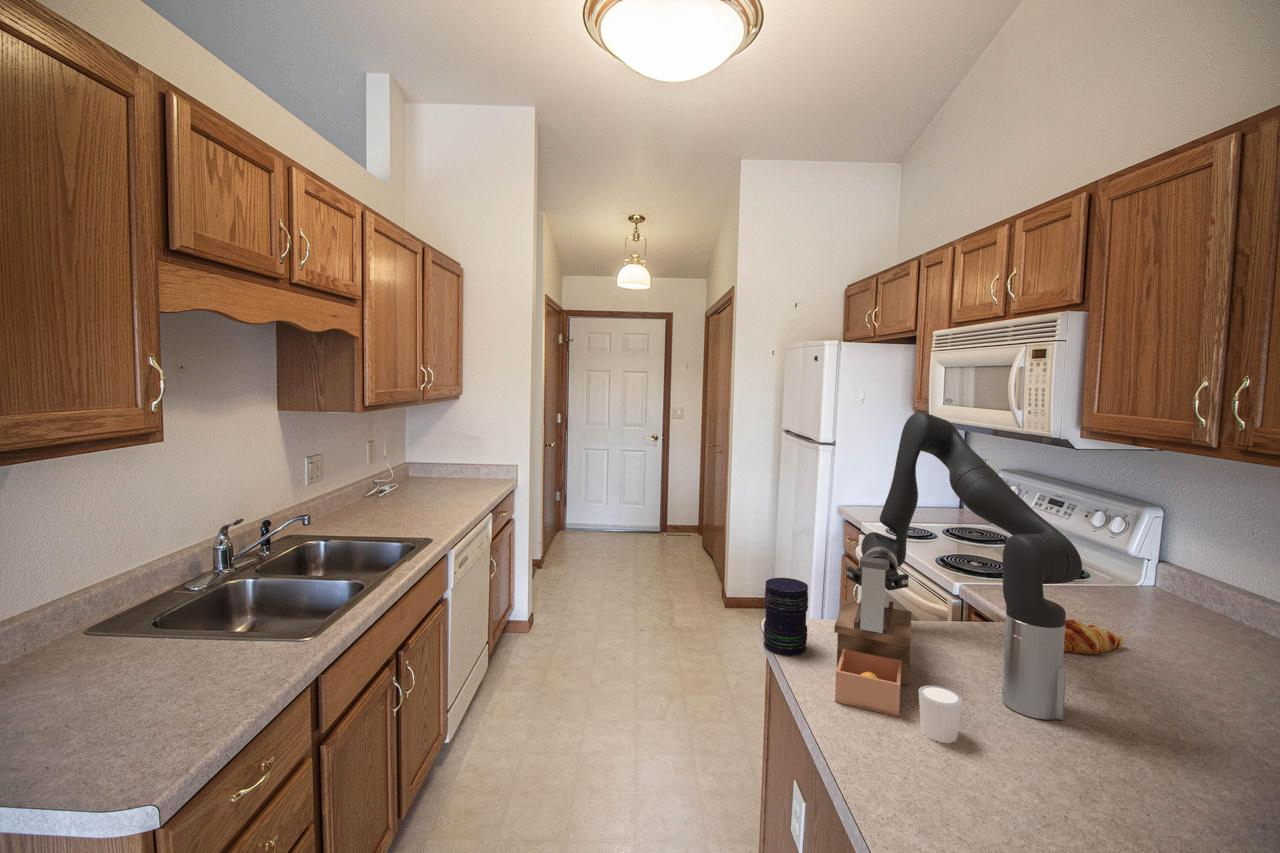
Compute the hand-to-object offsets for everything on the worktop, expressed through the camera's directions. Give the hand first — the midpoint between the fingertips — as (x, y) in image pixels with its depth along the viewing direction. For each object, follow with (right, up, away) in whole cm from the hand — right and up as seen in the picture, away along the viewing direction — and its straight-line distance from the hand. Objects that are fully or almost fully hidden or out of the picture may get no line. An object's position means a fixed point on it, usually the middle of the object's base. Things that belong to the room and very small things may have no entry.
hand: (874, 588), depth 115 cm
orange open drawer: (-2, -20, -3) cm, 21 cm away
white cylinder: (+5, -21, -15) cm, 27 cm away
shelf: (+2, -20, +6) cm, 21 cm away
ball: (-2, -18, -3) cm, 18 cm away
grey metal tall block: (-1, -8, -1) cm, 8 cm away
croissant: (+57, -20, +20) cm, 64 cm away
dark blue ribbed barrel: (-13, -19, +18) cm, 30 cm away
